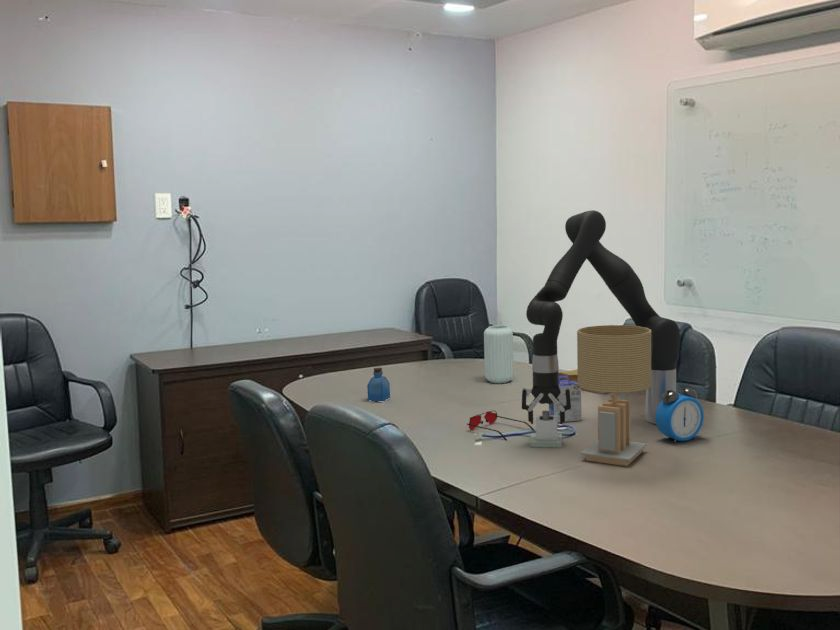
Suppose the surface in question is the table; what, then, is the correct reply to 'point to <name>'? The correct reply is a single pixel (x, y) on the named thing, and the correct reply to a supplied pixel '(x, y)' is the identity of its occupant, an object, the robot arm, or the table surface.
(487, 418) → the glasses
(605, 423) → the desk lamp
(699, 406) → the alarm clock
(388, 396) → the perfume bottle
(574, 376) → the book
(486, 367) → the vase
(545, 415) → the shaft block
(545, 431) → the grey hollow cube
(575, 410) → the ink cartridge box
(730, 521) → the table surface
